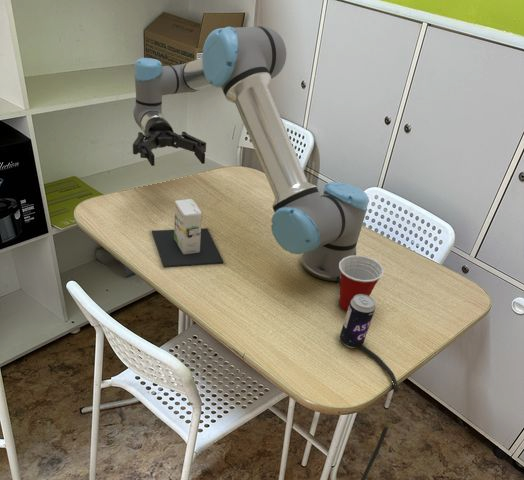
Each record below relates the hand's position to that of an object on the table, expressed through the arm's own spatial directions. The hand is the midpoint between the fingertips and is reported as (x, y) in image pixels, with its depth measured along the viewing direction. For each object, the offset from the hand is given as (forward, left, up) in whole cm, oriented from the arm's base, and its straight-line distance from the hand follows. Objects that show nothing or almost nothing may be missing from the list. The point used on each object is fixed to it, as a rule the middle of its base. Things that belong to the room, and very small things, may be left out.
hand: (178, 159), depth 136 cm
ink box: (-10, -1, -20) cm, 22 cm away
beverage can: (-55, -30, -21) cm, 66 cm away
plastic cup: (-42, -36, -21) cm, 59 cm away
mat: (-10, -1, -21) cm, 23 cm away
